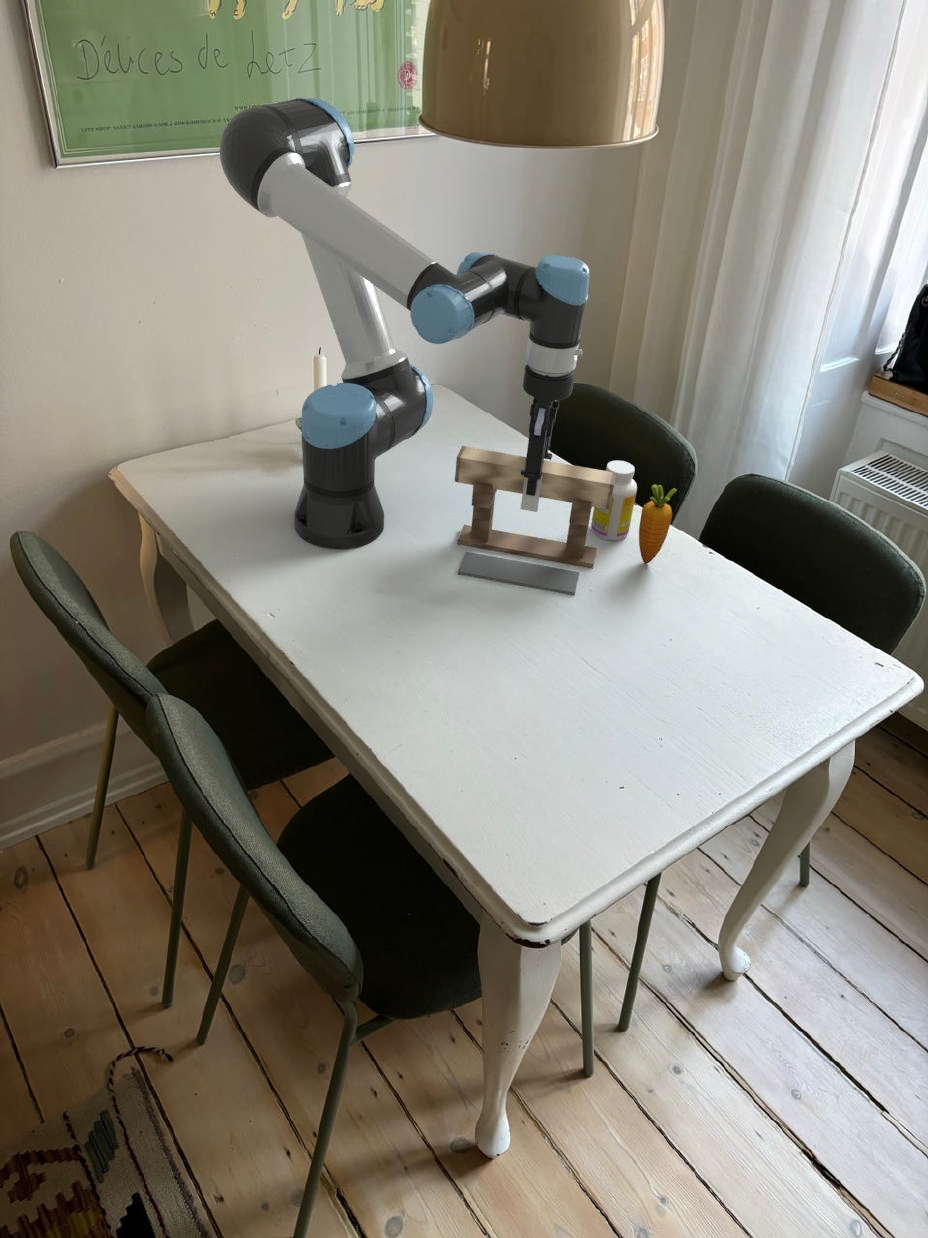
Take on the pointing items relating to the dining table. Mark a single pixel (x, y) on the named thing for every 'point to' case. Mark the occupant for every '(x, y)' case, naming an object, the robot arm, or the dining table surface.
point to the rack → (527, 545)
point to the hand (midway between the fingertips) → (531, 501)
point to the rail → (556, 478)
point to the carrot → (654, 524)
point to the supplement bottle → (617, 504)
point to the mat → (519, 573)
